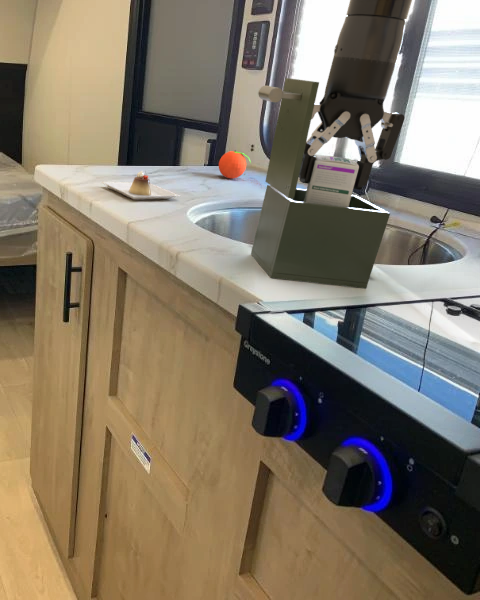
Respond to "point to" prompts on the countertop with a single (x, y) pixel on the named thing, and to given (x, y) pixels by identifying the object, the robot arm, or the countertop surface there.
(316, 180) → the syrup box
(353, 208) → the trash bin
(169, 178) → the countertop surface
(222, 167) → the clementine
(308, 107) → the bin lid
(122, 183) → the dessert
